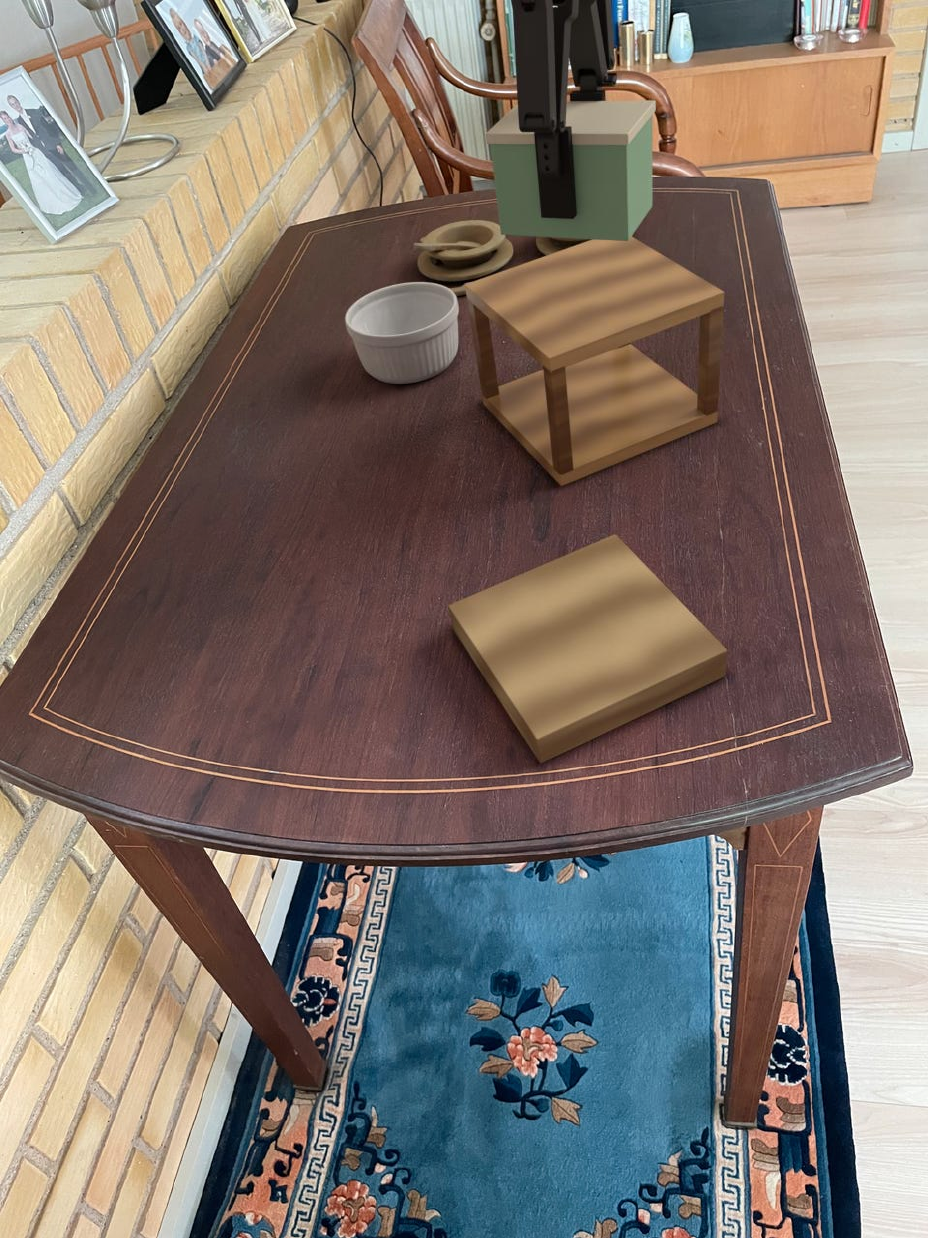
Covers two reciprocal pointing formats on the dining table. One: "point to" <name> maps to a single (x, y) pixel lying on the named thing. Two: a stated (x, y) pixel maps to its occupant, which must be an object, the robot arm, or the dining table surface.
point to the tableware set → (473, 251)
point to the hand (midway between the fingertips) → (575, 195)
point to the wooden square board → (585, 645)
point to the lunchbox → (580, 172)
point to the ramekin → (405, 331)
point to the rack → (596, 353)
